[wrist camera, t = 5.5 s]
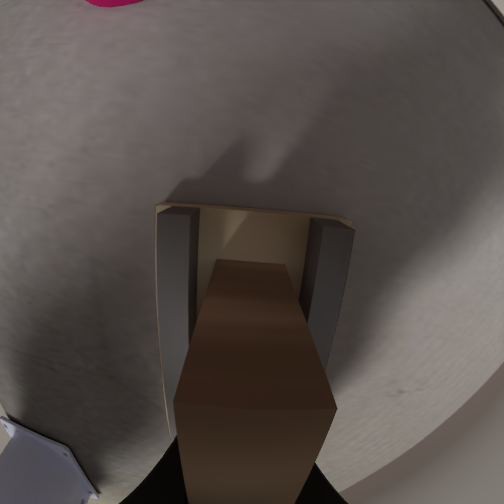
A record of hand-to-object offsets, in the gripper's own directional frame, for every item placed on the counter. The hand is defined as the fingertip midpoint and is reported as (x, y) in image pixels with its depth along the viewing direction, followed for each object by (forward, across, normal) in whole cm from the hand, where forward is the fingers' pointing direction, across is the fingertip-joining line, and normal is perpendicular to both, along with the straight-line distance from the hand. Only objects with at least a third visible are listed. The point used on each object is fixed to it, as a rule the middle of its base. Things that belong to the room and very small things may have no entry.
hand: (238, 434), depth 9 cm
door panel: (+3, 0, 0) cm, 3 cm away
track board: (+4, 0, 0) cm, 4 cm away
